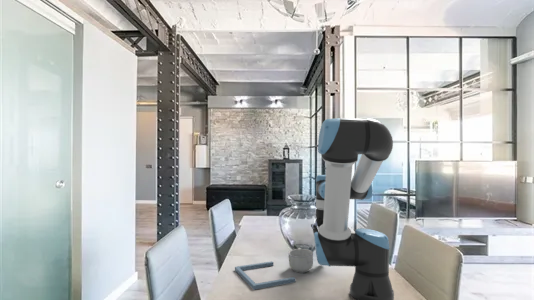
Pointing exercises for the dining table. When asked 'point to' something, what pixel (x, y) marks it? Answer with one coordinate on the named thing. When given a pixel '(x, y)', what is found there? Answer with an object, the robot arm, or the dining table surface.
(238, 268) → the tray frame
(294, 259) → the teacup
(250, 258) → the dining table surface
